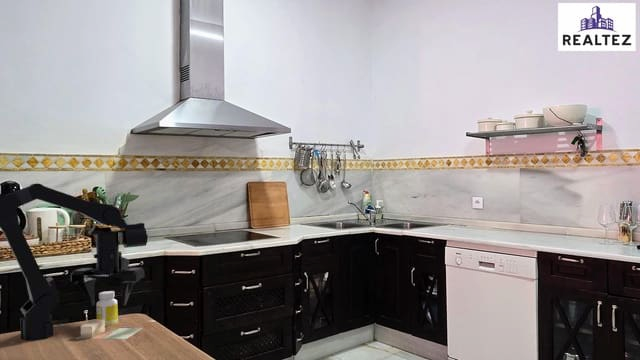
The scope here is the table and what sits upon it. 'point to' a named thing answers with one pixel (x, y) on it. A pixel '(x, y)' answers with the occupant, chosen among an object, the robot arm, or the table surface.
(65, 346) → the table surface
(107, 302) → the supplement bottle
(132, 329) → the sorting board
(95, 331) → the beech block
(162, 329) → the table surface
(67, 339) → the table surface
